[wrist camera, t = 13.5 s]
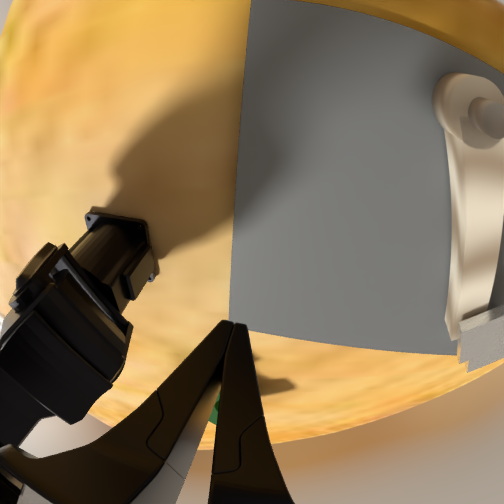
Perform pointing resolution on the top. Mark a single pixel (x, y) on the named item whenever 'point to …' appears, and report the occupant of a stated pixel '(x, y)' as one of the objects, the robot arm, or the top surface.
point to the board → (345, 181)
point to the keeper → (481, 339)
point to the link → (472, 188)
